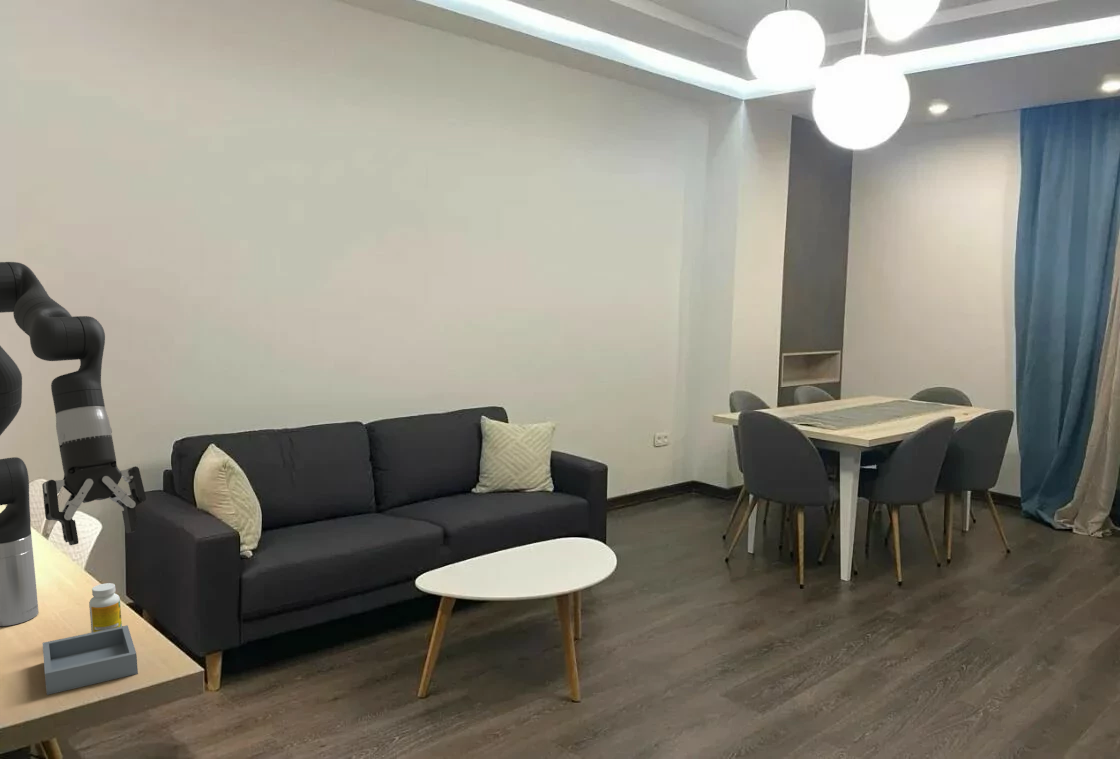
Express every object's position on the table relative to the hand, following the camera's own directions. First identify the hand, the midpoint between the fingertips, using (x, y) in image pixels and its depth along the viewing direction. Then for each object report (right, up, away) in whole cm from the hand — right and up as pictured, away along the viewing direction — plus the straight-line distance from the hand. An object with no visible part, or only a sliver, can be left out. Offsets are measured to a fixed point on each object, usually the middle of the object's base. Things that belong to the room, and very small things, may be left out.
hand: (102, 538), depth 136 cm
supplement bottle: (-17, -25, +34) cm, 45 cm away
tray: (-13, -27, +19) cm, 35 cm away
